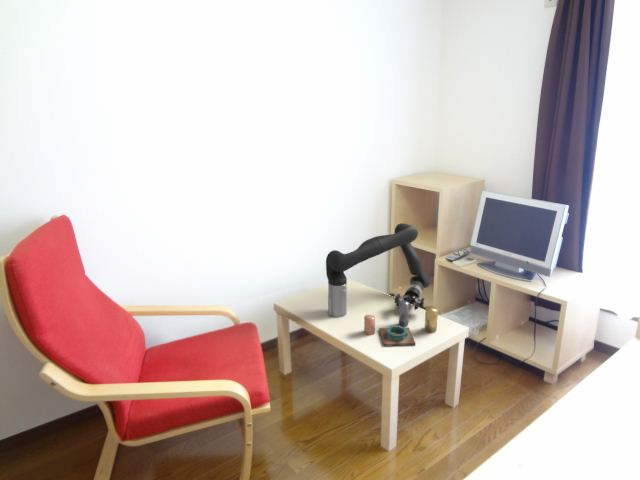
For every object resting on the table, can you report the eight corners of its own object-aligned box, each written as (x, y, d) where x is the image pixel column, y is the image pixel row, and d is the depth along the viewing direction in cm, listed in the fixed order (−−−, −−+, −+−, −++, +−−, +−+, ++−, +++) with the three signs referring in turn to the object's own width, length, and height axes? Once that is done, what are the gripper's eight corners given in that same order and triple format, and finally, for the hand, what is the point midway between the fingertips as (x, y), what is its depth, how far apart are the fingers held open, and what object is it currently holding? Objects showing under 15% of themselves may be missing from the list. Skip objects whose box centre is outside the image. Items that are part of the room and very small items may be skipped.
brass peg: (426, 332, 210) (427, 311, 207) (423, 327, 215) (424, 306, 212) (437, 332, 210) (439, 311, 207) (434, 326, 215) (436, 305, 212)
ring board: (384, 346, 199) (384, 338, 198) (379, 330, 213) (379, 323, 212) (415, 345, 200) (415, 338, 199) (408, 329, 213) (408, 322, 212)
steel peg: (399, 327, 215) (400, 304, 212) (397, 322, 220) (398, 300, 216) (408, 326, 216) (409, 304, 212) (406, 322, 220) (407, 300, 216)
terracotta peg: (364, 335, 209) (365, 319, 206) (363, 329, 214) (363, 314, 211) (375, 334, 209) (375, 319, 206) (373, 329, 214) (374, 314, 211)
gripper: (400, 285, 236) (392, 297, 222) (427, 289, 231) (421, 302, 217) (399, 297, 239) (391, 311, 224) (426, 302, 233) (420, 316, 219)
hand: (406, 306), depth 221 cm, fingers open, 8 cm apart
